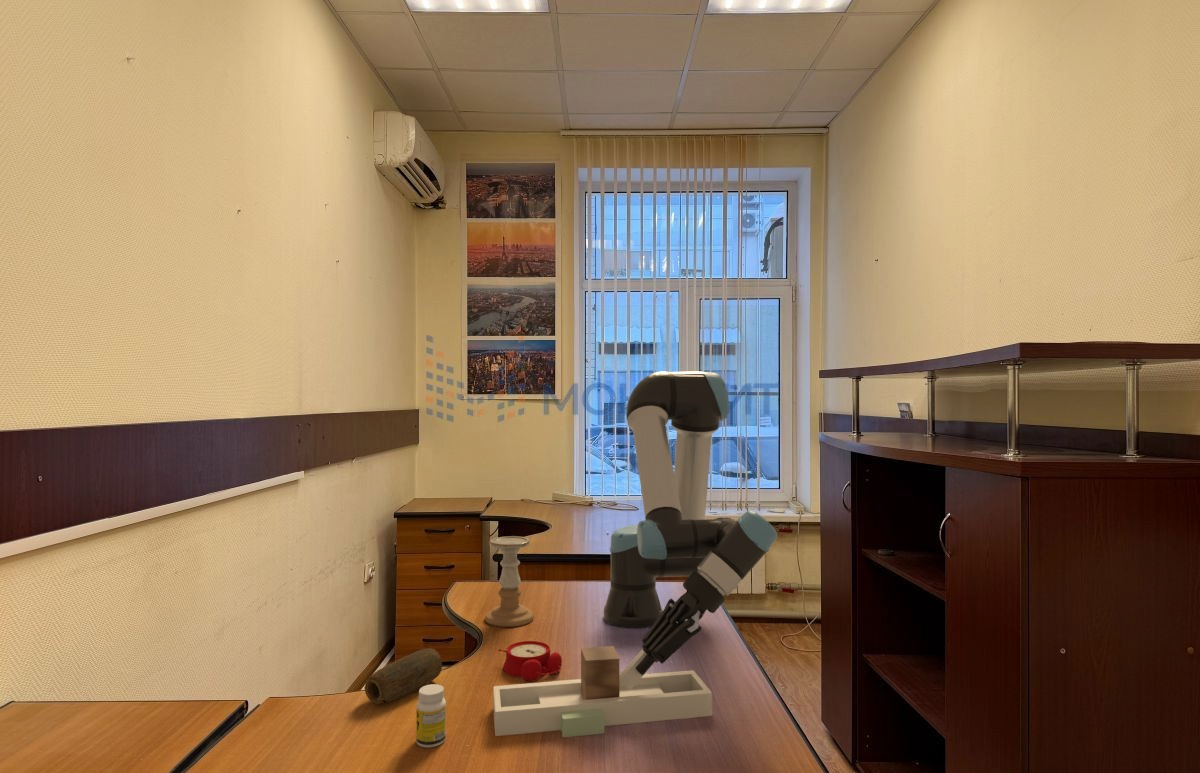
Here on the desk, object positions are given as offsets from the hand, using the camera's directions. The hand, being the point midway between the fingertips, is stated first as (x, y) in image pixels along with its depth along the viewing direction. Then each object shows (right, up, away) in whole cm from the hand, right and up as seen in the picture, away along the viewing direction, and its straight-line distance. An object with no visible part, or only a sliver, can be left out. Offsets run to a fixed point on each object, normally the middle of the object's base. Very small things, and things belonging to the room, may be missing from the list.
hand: (624, 683), depth 117 cm
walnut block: (-4, -3, 0) cm, 5 cm away
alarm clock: (-18, -6, +19) cm, 27 cm away
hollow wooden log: (-42, -6, +8) cm, 43 cm away
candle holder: (-27, -7, +50) cm, 58 cm away
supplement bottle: (-32, -5, -10) cm, 34 cm away
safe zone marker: (-8, -5, -1) cm, 10 cm away
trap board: (-4, -5, 0) cm, 7 cm away
